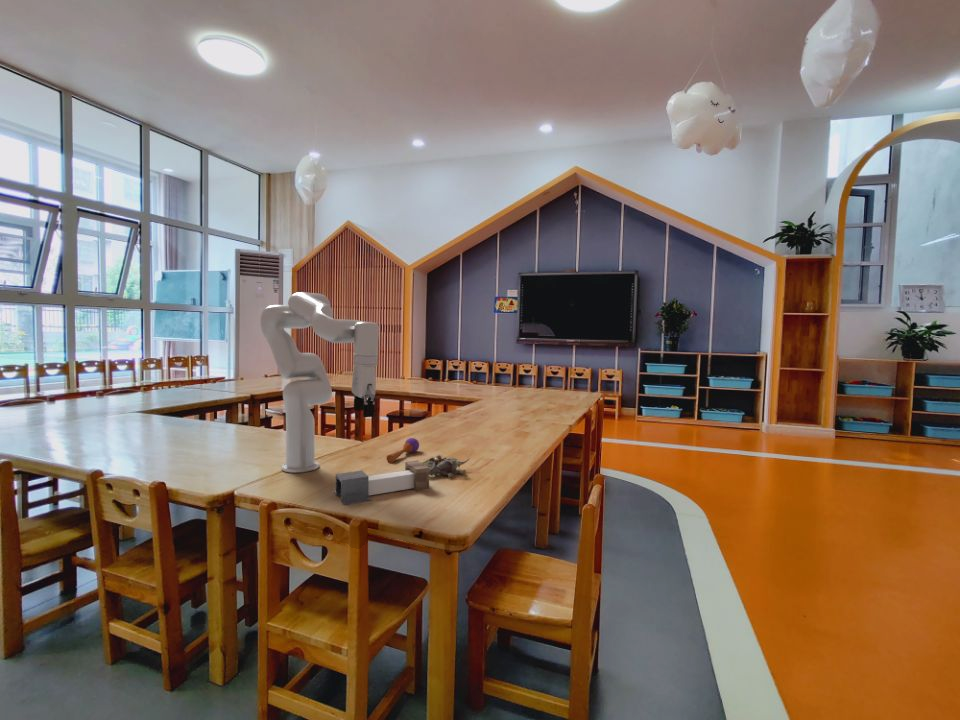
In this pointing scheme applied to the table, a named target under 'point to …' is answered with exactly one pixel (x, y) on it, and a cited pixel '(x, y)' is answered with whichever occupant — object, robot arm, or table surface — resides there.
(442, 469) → the figurine
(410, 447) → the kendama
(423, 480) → the socket block
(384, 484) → the white block
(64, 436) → the table surface
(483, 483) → the table surface
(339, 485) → the sleeve
